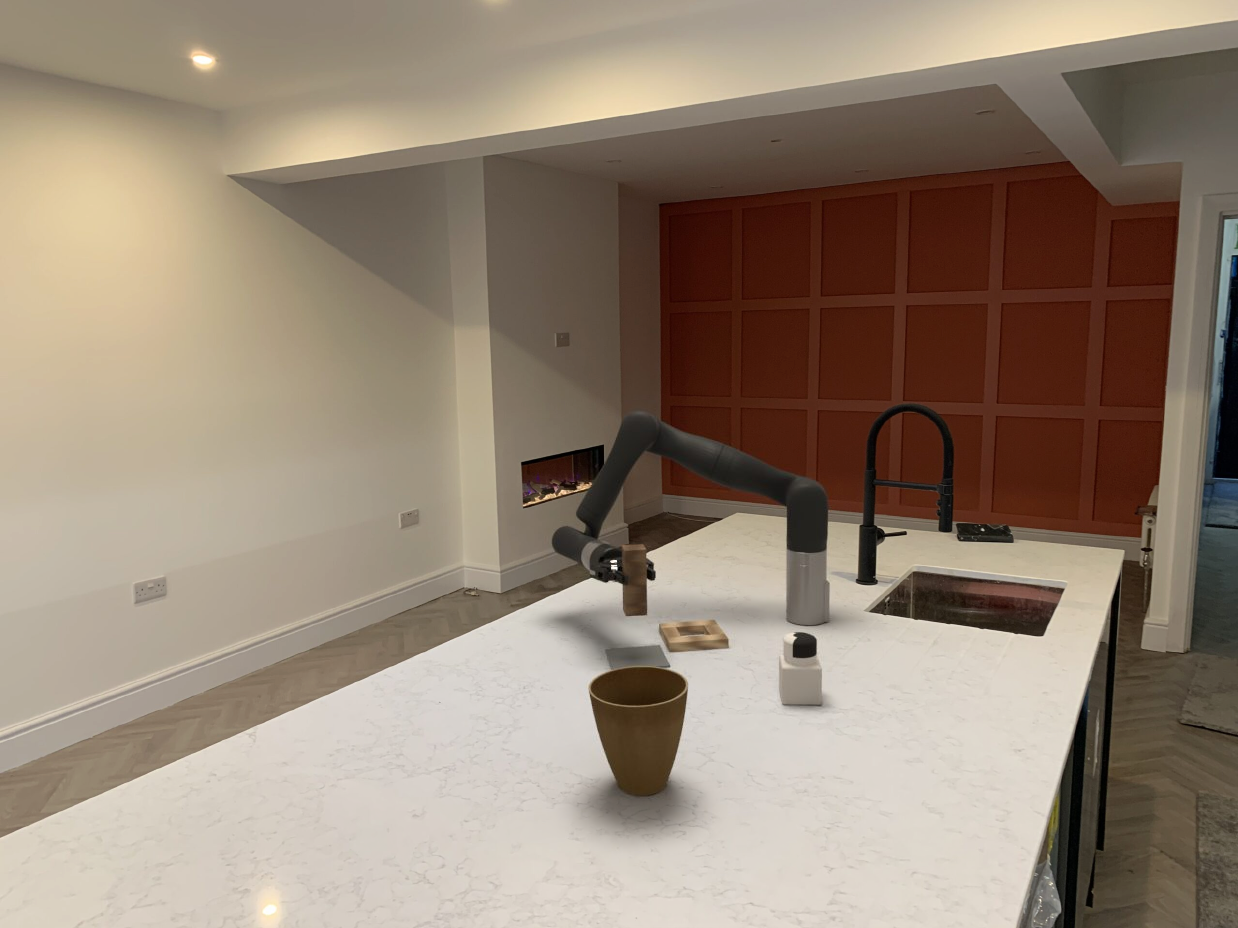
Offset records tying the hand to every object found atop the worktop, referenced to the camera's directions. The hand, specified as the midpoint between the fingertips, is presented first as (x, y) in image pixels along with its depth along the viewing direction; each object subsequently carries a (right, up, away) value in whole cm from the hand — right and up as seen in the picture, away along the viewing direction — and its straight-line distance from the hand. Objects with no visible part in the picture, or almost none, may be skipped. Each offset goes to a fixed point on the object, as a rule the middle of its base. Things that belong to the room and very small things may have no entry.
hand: (640, 578), depth 178 cm
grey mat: (-1, -18, +5) cm, 18 cm away
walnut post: (-1, -8, +3) cm, 8 cm away
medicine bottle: (+29, -20, -16) cm, 39 cm away
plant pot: (-1, -25, -46) cm, 53 cm away
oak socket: (+12, -16, +15) cm, 25 cm away
